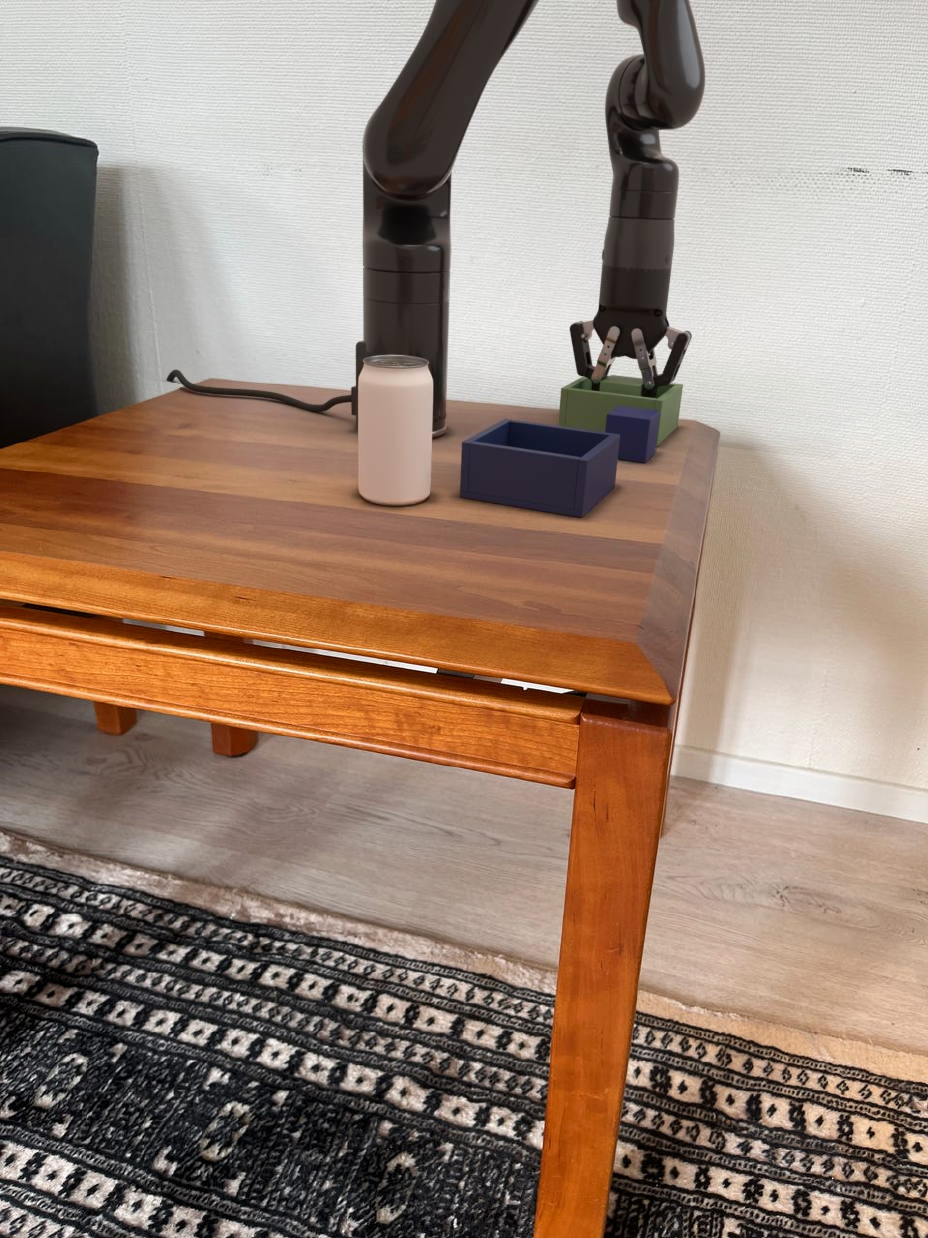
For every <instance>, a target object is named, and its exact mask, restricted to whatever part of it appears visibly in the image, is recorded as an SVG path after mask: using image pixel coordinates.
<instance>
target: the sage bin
mask: <svg viewBox="0 0 928 1238" xmlns="http://www.w3.org/2000/svg"><path fill="white" fill-rule="evenodd" d="M609 376H610V375H607V377H609ZM683 387H684V384H683V383H682V384H681V383H676V382H671V383H670V384H669V385H667V386H661V387H658V389H657V397H656V398H649V397H641V396H632V395H624V394H616V393H608V392H600V391H592V382H591V380H590V379H588V378H586V377H584V376H580V377H579V378H577V379H575V380H574V381H571V382H570V383H568V384H566V385H564V386H562V387H561V388H560V398H559V412H558V421H557V422H558V424H557V426H563V427H570V428H578V429H585V430H592V431H600V432H605V428H606V418H607V414H608V413H609V412H611V411H612V410H613V409H615V408H616V407H618V406H625V407H633V408H641V409H648V410H656V411H660V419H659V427H658V435H657V443H656V448H657V447H658V446H659V445H660V444H661V443H663V442H664V440H666V439H667V438H668V437H669V436H670V435H671V434H672V433H673V432H674V431H675V430H677V429H678V426H679V418H680V411H681V403H682V397H683V396H682V395H683V389H684V388H683Z"/></svg>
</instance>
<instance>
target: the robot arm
mask: <svg viewBox="0 0 928 1238" xmlns="http://www.w3.org/2000/svg"><path fill="white" fill-rule="evenodd" d="M539 3H540V0H435V1H434V4H433V7H432V10H431V13H430V16H429V18H428V21H427V24H426V26H425V28H424V29H423V32H422V34H421V36H420V38H419V40H418V42H417V44H416V45H415V46H414V49H413V51H412V52H411V54H410V56H409V57H408V59H407V61H406V62H405V64H404V66H403V67H402V68H401V71H400V73H398V76H397V78H396V79H395V81H394V82H393V84H392V85H391V87H390V89H389V90H388V91H387V93H386V94H385V96H384V98H383V99H382V100H381V102H380V103H379V105H378V106H377V107H376V108H375V110H374V111H373V112H372V114H371V116H370V117H369V118H368V120H367V123H366V124H365V128H364V131H363V135H362V141H361V143H362V146H361V149H362V151H361V152H362V338H363V339H362V340H359V341H357V342H356V344H355V385H354V386H351V387H350V391H351V392H350V394H345V395H338V396H335V397H332V398H330V399H328V400H327V401H326V402H324V403H321V404H312V403H307V402H305V401H303V400H298V399H297V398H293V397H291V396H289V395H286V394H283V393H279V392H274V391H268V390H261V389H260V390H259V389H251V388H250V389H248V388H231V387H230V388H229V387H216V386H206V385H199V384H195V383H192V382H190V381H189V380H188V378H186V377H185V376H184V374H183V373H182V371H181V370H179V369H172V370H171V371H170V372H169V374H168V375H167V377H166V379H165V381H166V382H174V381H175V378H176V379H177V380H178V382H179V383H180V384H181V385H182V386H183V387H185V388H186V389H188V390H190V391H192V392H196V393H200V394H201V393H202V394H209V395H218V396H220V395H221V396H236V397H253V398H262V399H270V400H274V401H278V402H282V403H285V404H287V405H290V406H293V407H296V408H299V409H301V410H305V411H309V412H314V413H321V412H326V411H329V410H330V409H332V408H333V407H335V406H336V405H340V404H344V403H345V404H346V403H350V408H351V410H350V411H351V413H350V414H351V416H355V430H357V431H358V379H359V375H360V373H361V371H362V369H363V366H364V362H363V359H364V358H367V357H370V356H377V355H405V356H414V357H420V358H424V359H426V360H428V361H429V364H428V369H429V371H430V374H431V376H432V379H433V419H432V439H433V438H436V437H440V436H442V435H444V434H446V433H447V427H448V425H447V397H448V365H449V364H448V363H449V335H450V334H449V329H450V299H451V298H450V297H451V295H450V293H451V267H452V233H451V232H452V230H451V229H452V228H451V213H452V211H451V209H452V207H451V206H452V179H453V177H452V176H453V169H454V166H455V163H456V160H457V157H458V154H459V151H460V148H461V146H462V144H463V141H464V139H465V136H466V134H467V131H468V129H469V126H470V123H471V122H472V119H473V116H474V114H475V111H476V109H477V107H478V105H479V102H480V100H481V98H482V95H483V93H484V91H485V89H486V87H487V85H488V83H489V81H490V79H491V77H492V75H493V73H494V72H495V70H496V69H497V67H498V66H499V63H500V62H501V60H502V59H503V57H504V56H505V54H506V53H507V52H508V51H509V49H510V48H511V45H512V44H514V41H515V40H516V38H517V37H518V35H519V34H520V33H521V31H522V30H523V28H524V26H525V25H526V24H527V22H528V20H529V19H530V17H531V16H532V14H533V12H534V11H535V9H536V7H537V6H538V4H539ZM615 4H616V5H615V6H616V12H617V16H618V19H619V20H620V22H621V23H622V24H623V25H625V26H627V27H631V28H633V29H635V30H636V31H637V32H638V36H639V39H640V43H641V48H642V53H640V54H634V55H631V56H628V57H626V58H625V59H623V60H622V61H621V62H620V63H618V64H617V66H616V67H615V69H614V71H613V72H612V75H611V77H610V79H609V81H608V83H607V88H606V93H605V99H604V118H605V128H606V136H607V145H608V154H609V159H610V165H611V171H612V181H611V189H610V199H609V209H608V218H607V219H608V220H607V226H606V230H605V235H604V239H603V240H604V241H603V249H602V251H601V252H602V253H601V260H602V264H601V273H600V274H601V276H600V286H599V297H598V309H597V312H596V313H595V316H594V317H593V319H591V320H586V321H583V320H579V321H576V322H574V323H572V324H571V325H570V326H569V334H570V335H569V336H570V340H571V346H572V352H573V357H574V363H575V369H576V374H577V375H578V376H579V377H583V376H584V377H586V378H588V379H590V380H591V382H592V391H600V381H602V380H604V379H606V378H607V376H609V373H610V370H611V368H612V366H613V364H614V363H615V361H616V359H617V358H622V357H627V358H628V359H631V360H636V361H637V366H638V369H639V370H640V374H641V378H642V379H643V384H644V389H642V394H641V397H649V398H656V397H657V389H658V387H661V386H667V385H669V384H670V383H674V381H675V379H676V377H677V375H678V373H679V370H680V367H681V366H682V363H683V360H684V358H685V355H686V353H687V350H688V348H689V346H690V344H691V340H692V337H693V334H692V332H691V331H690V330H684V331H682V330H679V329H677V328H674V327H672V326H670V322H669V320H668V317H667V316H668V315H667V310H668V302H669V294H670V293H669V292H670V284H671V276H672V267H673V260H674V259H673V258H674V250H675V222H676V221H675V218H676V212H677V203H678V195H679V183H680V169H679V166H678V164H677V163H676V162H675V161H674V160H673V159H672V158H669V157H667V156H665V155H664V154H663V153H662V147H661V137H660V131H673V130H677V129H681V128H683V127H685V126H687V125H688V124H689V123H691V122H692V120H693V119H694V118H695V117H696V115H697V114H698V111H699V110H700V108H701V104H702V103H703V99H704V94H705V89H706V66H705V59H704V54H703V51H702V46H701V42H700V37H699V33H698V29H697V24H696V20H695V16H694V12H693V9H692V5H691V3H690V0H615ZM593 331H594V332H596V335H597V337H598V338H599V340H600V342H601V344H602V347H601V350H600V353H599V355H598V358H597V360H596V365H593V359H592V354H591V346H590V341H589V340H591V339H592V337H593ZM665 337H666V339H667V347H668V349H669V350H671V351H670V353H669V355H668V358H667V361H666V363H665V365H664V368H663V371H662V373H659V372H658V367H657V362H658V361H657V356H656V351H655V348H656V347H657V346H658V344H659V343H660V342H661V341H662V340H663V339H664V338H665Z"/></svg>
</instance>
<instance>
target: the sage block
mask: <svg viewBox="0 0 928 1238" xmlns="http://www.w3.org/2000/svg"><path fill="white" fill-rule="evenodd" d="M608 376H609V377H607V378H606V379H604V380H602V381H600V392H608V393H616V394H624V395H632V396H641V394H642V389H644V384H643V379H642V377H633V376H624V375H615V374H611V375H608Z"/></svg>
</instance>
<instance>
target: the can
mask: <svg viewBox="0 0 928 1238" xmlns="http://www.w3.org/2000/svg"><path fill="white" fill-rule="evenodd" d="M363 362H364V366H363V369H362V371H361V373H360V375H359V379H358V430H357V440H358V441H357V445H358V447H357V448H358V449H357V453H358V454H357V455H358V456H357V457H358V462H357V463H358V493H359V494H360V496H361V497H362V498H363V499H364V500H366V501H367V502H370V503H372V504H375V505H381V506H390V507H403V506H412V505H417V504H420V503H423V502H424V501H426V500H427V498H428V497H429V496H430V495H431V484H432V483H431V481H432V480H431V479H432V452H433V438H432V419H433V379H432V376H431V374H430V371H429V369H428V364H429V361H428V360H426V359H424V358H420V357H414V356H405V355H377V356H370V357H367V358H364V359H363Z"/></svg>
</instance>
